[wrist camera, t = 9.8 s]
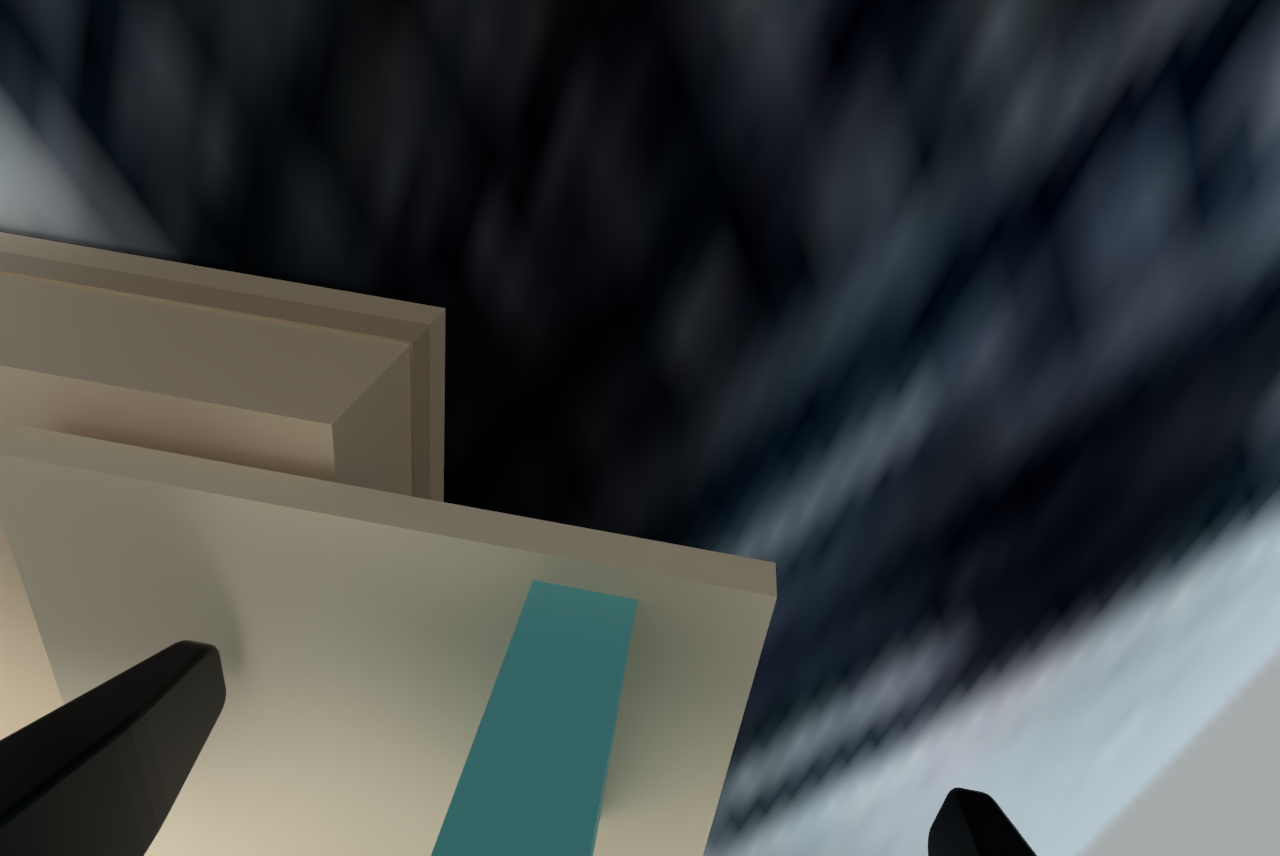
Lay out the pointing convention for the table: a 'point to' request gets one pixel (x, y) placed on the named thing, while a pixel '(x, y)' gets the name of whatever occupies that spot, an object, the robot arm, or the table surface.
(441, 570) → the flap
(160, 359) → the carton
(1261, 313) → the table surface
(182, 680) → the robot arm
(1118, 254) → the table surface
